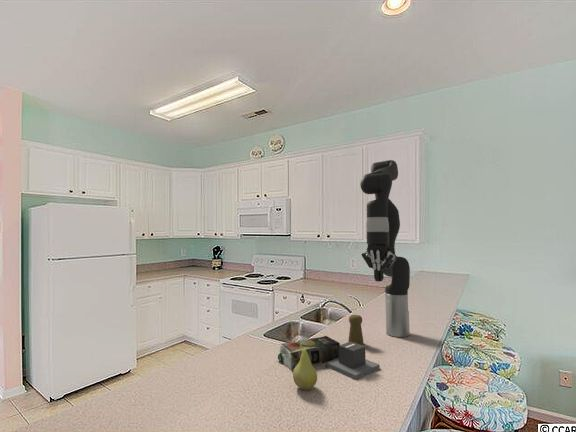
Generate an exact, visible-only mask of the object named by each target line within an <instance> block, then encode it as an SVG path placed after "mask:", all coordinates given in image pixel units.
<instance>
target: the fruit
mask: <svg viewBox="0 0 576 432" xmlns="http://www.w3.org/2000/svg"><path fill="white" fill-rule="evenodd" d="M299 341H300V340H297V342H298V343H299V345H300V346H301V348H302V354H301V358H300V362H299V363H298V365H297V366H296V367H295V369H293V372H292V380H293V382H294V384H295V386H297V387H298V388H299V389H301V390H303V391H308V390H311V389H313V388H314V387H315V386H316V384H317V381H318V373H317V371H316V369H315V367H314V366H313V365H312V364H311V361H310V358H309V356H308V353H307V351H306V350H305V349H303V347H302V345H301V343H300V342H299Z"/></svg>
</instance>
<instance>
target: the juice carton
mask: <svg viewBox="0 0 576 432" xmlns="http://www.w3.org/2000/svg"><path fill="white" fill-rule="evenodd" d="M297 341H298V340H297ZM297 341H291V342H285V343H280V344H279V353H278V354H277V360H278V361H280V362H282V363H283V364H284V365H285V366H286V367H287V368H288V369H289V370H294V369H295V367H296V366H297V365H298V363H299V362H300V358H301V354H302V348H301V346H300V345H299V343H298V342H297ZM299 342H300V343H301V345H302V347H303V349H305V350H306V351H307V353H308V356H309V358H310V361H311V364H312V366H313V365H319V364H323V363H326V362H329V361H331V360H334V359H336V358H339V345H341V342H338V341H337V340H335V339H332V338H331V337H330V336H328V335H324V336H321V337H312V338H307V339H300V340H299Z"/></svg>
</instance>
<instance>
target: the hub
mask: <svg viewBox="0 0 576 432" xmlns="http://www.w3.org/2000/svg"><path fill="white" fill-rule="evenodd" d="M325 363H326V364H325V366H326V367H327V368H330V369H331V370H334V371H336V372H337V373H340V374H343V375H345V376H347V377H349V378H351V379H353V380H358V379H359V378H362V377H364V376H366V375H369V374H371V373H373V372H375V371H377V370H380V364H379V363H376V362H374V361H371V360H368V359H366V364H364V365H362V366H360V367H357V368H355V369H352V368H350V367H348V366H345V365H343V364H341V363H339V358H336V359H334V360H331V361H329V362H325Z"/></svg>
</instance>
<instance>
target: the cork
mask: <svg viewBox="0 0 576 432" xmlns="http://www.w3.org/2000/svg"><path fill="white" fill-rule="evenodd" d="M348 322H349V334H348V341H347V343H348V342H350V341H351V342H354V343H357V344H360V345H363V346H365V344H364V343H365V342H364V336H363V329H362V323H363V318H362V316H361V315H360V314H351V315H349V317H348Z"/></svg>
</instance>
